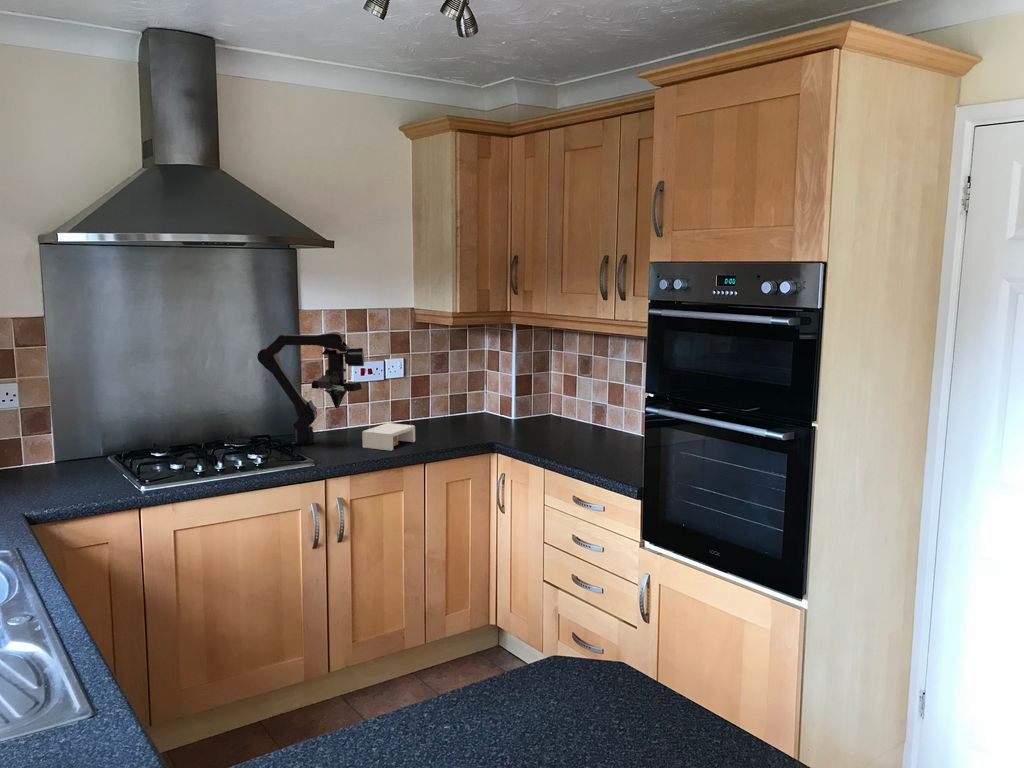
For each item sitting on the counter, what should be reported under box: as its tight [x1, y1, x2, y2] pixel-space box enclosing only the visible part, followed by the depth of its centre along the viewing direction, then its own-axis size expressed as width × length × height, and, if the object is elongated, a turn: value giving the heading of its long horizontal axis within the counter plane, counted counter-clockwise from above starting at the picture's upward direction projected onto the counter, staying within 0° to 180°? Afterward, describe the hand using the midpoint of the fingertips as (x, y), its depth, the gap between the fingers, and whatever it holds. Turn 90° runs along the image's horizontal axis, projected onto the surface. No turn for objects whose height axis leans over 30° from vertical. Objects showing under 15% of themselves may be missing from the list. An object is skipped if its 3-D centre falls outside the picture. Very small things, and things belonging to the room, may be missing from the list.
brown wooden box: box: [393, 435, 399, 447], centre depth 307 cm, size 10×6×4 cm, turn 66°
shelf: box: [361, 422, 416, 452], centre depth 307 cm, size 12×17×6 cm
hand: (337, 408), depth 308 cm, fingers closed
